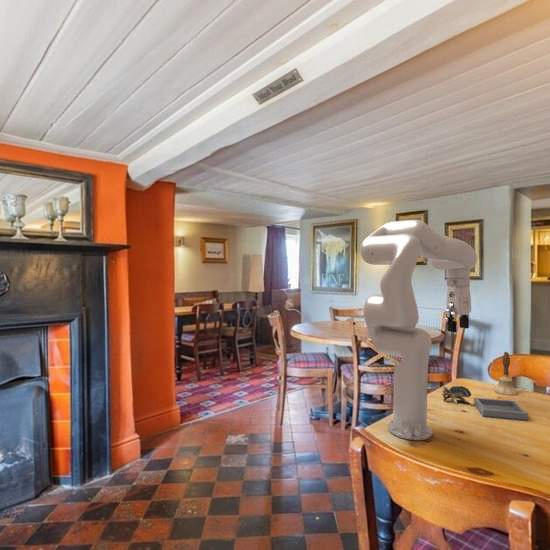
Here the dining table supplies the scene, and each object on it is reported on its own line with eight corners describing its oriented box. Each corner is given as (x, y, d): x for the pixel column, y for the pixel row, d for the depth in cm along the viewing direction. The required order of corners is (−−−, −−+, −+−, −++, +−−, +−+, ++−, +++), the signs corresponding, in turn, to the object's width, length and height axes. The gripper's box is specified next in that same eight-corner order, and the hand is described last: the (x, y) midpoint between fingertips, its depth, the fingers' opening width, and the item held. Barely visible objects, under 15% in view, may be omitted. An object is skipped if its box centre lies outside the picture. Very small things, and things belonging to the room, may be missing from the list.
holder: (527, 421, 123) (527, 413, 123) (483, 416, 126) (483, 409, 126) (514, 407, 135) (514, 400, 134) (474, 404, 138) (474, 397, 138)
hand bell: (521, 396, 146) (522, 355, 146) (498, 394, 148) (498, 353, 148) (512, 389, 155) (513, 350, 154) (490, 388, 156) (491, 349, 156)
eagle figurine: (447, 403, 135) (474, 400, 134) (441, 383, 139) (467, 380, 138) (444, 408, 142) (470, 405, 140) (439, 389, 146) (464, 386, 144)
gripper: (457, 284, 129) (457, 335, 130) (479, 281, 140) (478, 327, 141) (436, 284, 134) (436, 332, 135) (458, 280, 146) (458, 325, 147)
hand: (458, 329), depth 138 cm, fingers open, 9 cm apart
